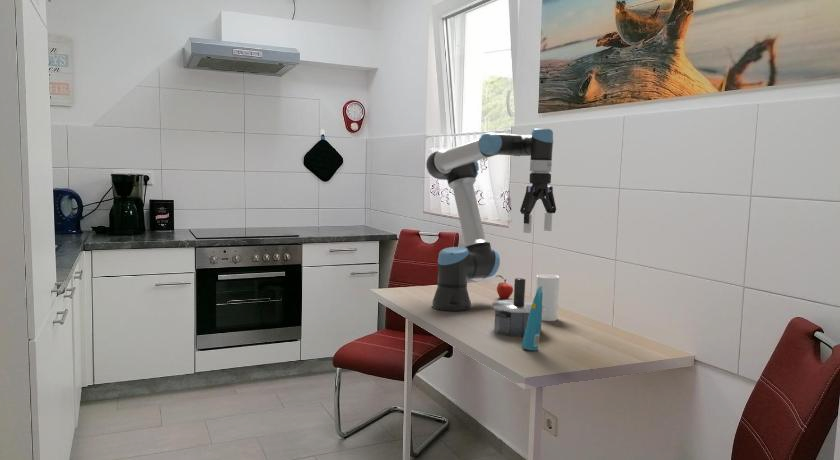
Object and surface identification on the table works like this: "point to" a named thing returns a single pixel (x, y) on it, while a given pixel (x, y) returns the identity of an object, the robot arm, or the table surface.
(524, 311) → the lid
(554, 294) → the cup
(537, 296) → the tube
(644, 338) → the table surface
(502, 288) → the apple
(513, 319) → the pot
